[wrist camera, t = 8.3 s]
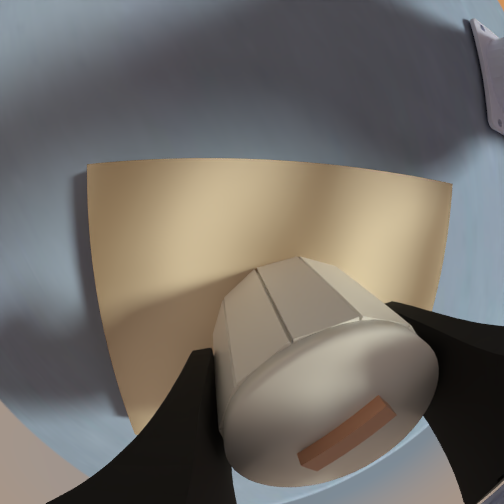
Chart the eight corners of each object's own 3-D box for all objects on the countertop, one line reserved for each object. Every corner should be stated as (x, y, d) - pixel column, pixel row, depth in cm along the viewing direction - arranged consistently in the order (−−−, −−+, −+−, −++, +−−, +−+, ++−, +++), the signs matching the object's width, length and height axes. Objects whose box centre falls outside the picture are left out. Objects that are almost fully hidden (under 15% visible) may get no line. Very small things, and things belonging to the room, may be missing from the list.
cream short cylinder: (300, 224, 9) (400, 284, 4) (381, 321, 11) (462, 399, 6) (182, 335, 10) (170, 461, 5) (282, 405, 11) (317, 505, 6)
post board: (428, 181, 11) (514, 193, 6) (384, 388, 14) (428, 445, 10) (104, 165, 9) (26, 162, 4) (140, 411, 12) (125, 490, 7)
